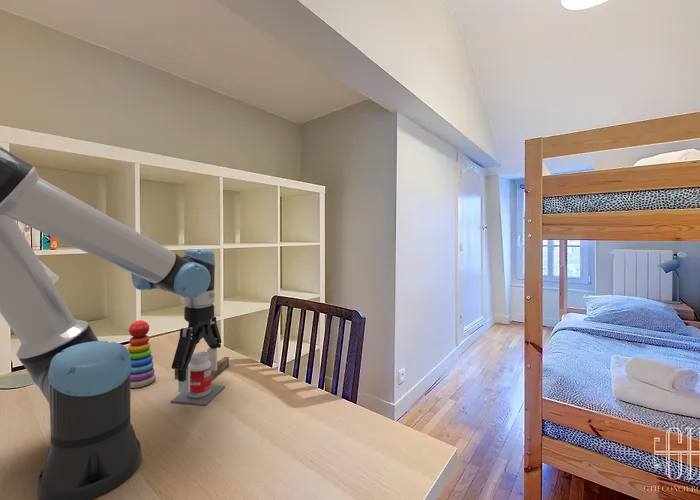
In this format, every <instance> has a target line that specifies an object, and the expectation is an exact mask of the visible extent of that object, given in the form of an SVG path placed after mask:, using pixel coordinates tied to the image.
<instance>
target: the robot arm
mask: <svg viewBox="0 0 700 500" xmlns="http://www.w3.org/2000/svg"><path fill="white" fill-rule="evenodd" d="M16 221H17V222H20V223H21V224H23V225H25V226H27V227H30V228H32V229H34V230H36V231H39V232H41V233H44V234H45V235H48V236H50V237H51V238H54V239H56V240H58V241H61V242H63V243H65V244H67V245H70V246H72V247H74V248H76V249H79V250H81V251H83V252H85V253H87V254H88V255H90V256H93V257H96V258H98V259H99V260H102V261H104V262H107V263H109V264H111V265H113V266H115V267H118V268H120V269H122V270H124V271H126V272H128V273H129V274H131V281H132V285H133V286H134V288H135V289H137V290H139V291H142V290H143V291H145V290H148V291H151V290H156V289H157V290H158V289H159V290H162V291H166V292H168V293H169V292H170V293H172V294H176V295H179V296H181V297H183V304H184V305H185V307H183V313H184V317H183V318H184V321H186V322H187V324H188V327H187V328H183V327H182V328H180V330H179V339H178V342H177V346H176V349H175V354H174V357H173V361H172V363H171V369H173V370H175V369H178V379H177V381H178V384H177V385H178V388H177V389H178V390H177V391H178V393H181V392H182V393H189V392H190V367H188V365H189V362H190V360H191V357H192V355H193V353H195V349H196V347H197V345H198V344H199V343H200V341H201V340H202V339H203V340H204V341H205V343H206V344H207V346H208V348H206V349H207V351H206V352H207V353H208V354H209V358H208V360H209V361H210V362H211V370H213V371H216V370H217V362H218V348H219V349H220V348H221V346H222V337H221V334H220V329H219V328H218V327H219V326H218V323H217V316H215V305H214V303H215V297H216V294H215V272H216V271H215V270H216V269H215V267H216V259H215V252H214V251H213V250H212V249H207V248H189V249H185V251H184V252H183V256H181V255H179V254H177V253H175V252H174V251H172V250H170V249H169V248H166V247H164V246H163V245H161V244H160V243H158V242H156V241H154V240H153V239H150V238H149V237H147V236H145V235H143V234H142V233H139V232H138V231H136V230H134V229H133V228H131V227H129V226H127V225H125V224H123V223H122V222H120V221H118V220H117V219H115V218H113V217H111V216H109V215H108V214H105V213H104V212H103V211H100V210H99V209H97V208H95V207H93V206H91V205H90V204H88V203H86V202H84V201H83V200H81V199H80V198H77V197H75V196H73V195H72V194H70V193H68V192H66V191H65V190H62V189H61V188H59V187H57V186H56V185H54V184H52V183H50V182H48V181H47V180H45V179H43V178H41V176H39V174H38V171H37V168H36V167H35V166H34V165H32V164H30V163H28V162H27V161H24V160H23V159H21V158H20V157H18V156H16V155H15V154H13V153H11V152H10V151H9V150H7V149H5V148H3V147H1V146H0V315H1V316H2V318H3V319H4V320H5V322H6V324H7V325H8V326H9V328H10V329H11V330H12V332H13V333H14V335H15V336H16V337H17V339H18V340H19V342H20V346H19V348H18V350H17V352H16V355H15V356H16V358H18V360H19V361H20V363H21V364H22V365H23V366H24V369H25V370H26V371H27V372H28V374H29V375H30V377H31V380H32V381H33V382H34V384H35V385H36V386H37V387H38V388H39V390H40V391H41V392H42V394H43V396H44V398H45V399H46V401H47V402H48V405H49V406H48V407H49V419H50V420H49V421H50V423H49V424H50V432H49V434H50V446H49V449H48V450H47V451H48V452H47V454H46V457H45V460H44V464H43V468H42V469H41V470H40V472H39V475H38V478H37V498H38V499H39V500H93V499H94V498H97V497H100V496H102V495H104V494H106V493H108V492H109V491H112V490H113V489H115V488H117V487H118V486H120V485H121V484H122V483H124V482H125V481H126V480H127V479H129V478H130V477H131V476H132V475H133V474H134V473H135V472H136V470H138V468H139V466H140V464H141V463H142V444H141V442H140V440H139V439H138V438H137V435H136V432H135V429H134V427H133V424H132V422H131V421H132V420H131V394H132V393H131V389H132V388H131V367H132V364H131V360H130V354H129V351H128V347H127V346H125V345H123V344H122V343H119V342H115V341H110V342H108V341H106V340H99V339H98V337H97V336H96V334H95V332H94V330H93V329H92V328H91V326H90V324H89V323H88V321H87V320H82V319H76V318H75V317H74V315H73V313H72V312H71V310H70V308H69V307H68V306H67V304H66V302H65V301H64V299H63V297H62V296H61V294H60V292H59V291H58V289H57V287H56V286H55V284H54V283H53V280H52V279H51V278H50V276H49V275H48V273H47V271H46V269H45V267H44V266H43V264H42V263H41V261H40V260H39V257H38V256H37V255H36V253H35V251H34V250H33V248H32V246H31V244H30V243H29V241H28V240H27V238H26V237H25V235H24V233H23V231H22V229H21V228H20V226H19V225H18V223H17V222H16Z"/></svg>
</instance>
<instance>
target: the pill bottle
mask: <svg viewBox="0 0 700 500" xmlns="http://www.w3.org/2000/svg"><path fill="white" fill-rule="evenodd" d="M208 358H209V354H208V353H207V351H197V352H196V351H194V352H193V355H192V357H191V360H190V361H191V362H190V363H189V365H188V367H190V392H189V393H187V395H188V396H189V397H191V398H200V397H203V396H206V395H208V394H209V393H210V391H211V385H212V380H211V362H210V361H209V360H208Z"/></svg>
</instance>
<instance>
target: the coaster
mask: <svg viewBox="0 0 700 500" xmlns="http://www.w3.org/2000/svg"><path fill="white" fill-rule="evenodd" d="M225 388H226V386H224V385H214V384H211V391H210V393H209V394H208V395H206V396H203V397H200V398H191V397H189V396H188V395H187V393H182V392H179V394H177V395H176V396H175V397H174V398H173V399H171V400H170V404H171V403H172V404H181V405H183V404H184V405H190V406H191V405H194V406H203V407H204V406H205V407H206V406H208V405H209V404H210V403H211V402H212V401H213V400H214V399H215V398H216V397H218V395H219V394H220V393H221V392H222V391H224V389H225Z"/></svg>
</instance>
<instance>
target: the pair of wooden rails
mask: <svg viewBox="0 0 700 500" xmlns="http://www.w3.org/2000/svg"><path fill="white" fill-rule="evenodd" d="M229 360H230V356H229V357H228V356H224V357H222V358H221V359H219V361H217V370H216V371H213V370H211V381H213V380H214V379H215V378H216V377H217V376H219V374H220V373H222V372H223V371H224V370H226V369H227V368H229V365H230V361H229ZM190 362H191V361H190ZM190 362H189V363H190ZM174 380H178V369H174Z"/></svg>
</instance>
